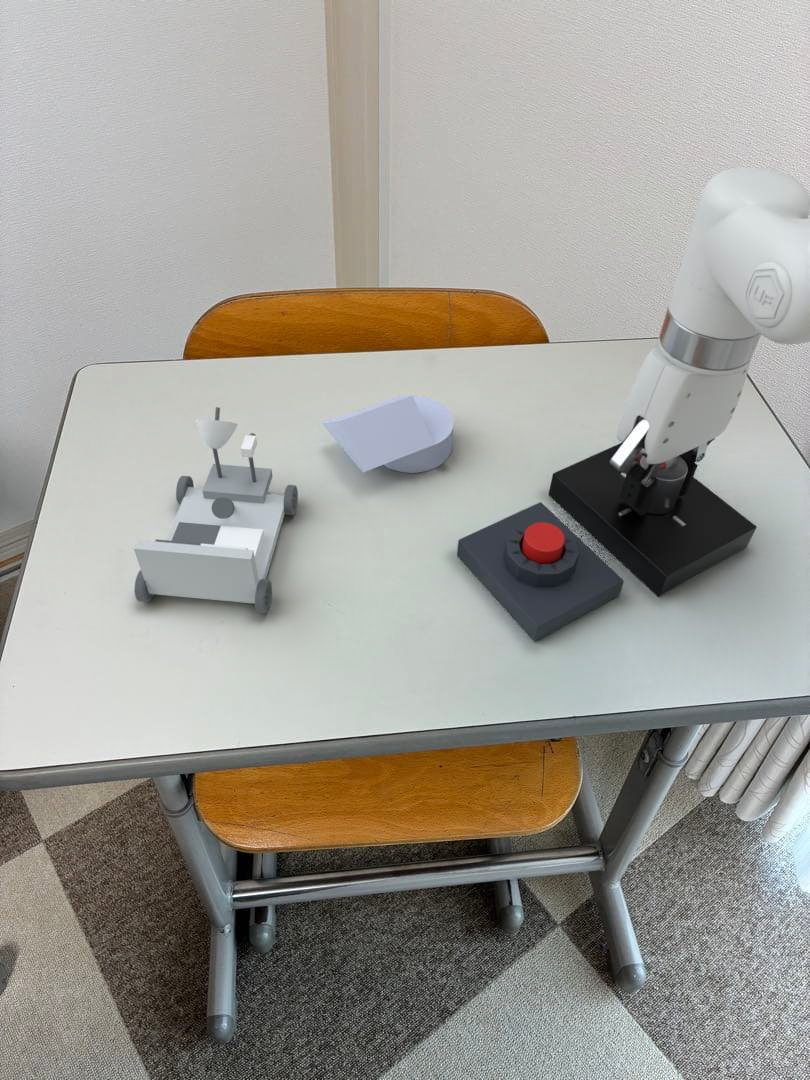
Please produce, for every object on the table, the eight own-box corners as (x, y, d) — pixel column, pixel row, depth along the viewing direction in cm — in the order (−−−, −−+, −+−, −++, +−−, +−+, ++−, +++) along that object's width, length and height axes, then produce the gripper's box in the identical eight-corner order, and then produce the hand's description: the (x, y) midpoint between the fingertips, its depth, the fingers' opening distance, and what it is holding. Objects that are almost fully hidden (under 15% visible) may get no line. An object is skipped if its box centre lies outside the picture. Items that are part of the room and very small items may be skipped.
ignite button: (569, 554, 72) (573, 541, 71) (538, 570, 71) (541, 557, 70) (544, 530, 74) (547, 516, 73) (514, 544, 73) (516, 531, 72)
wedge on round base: (363, 496, 82) (467, 455, 87) (362, 446, 77) (472, 405, 82) (323, 447, 87) (423, 410, 92) (319, 397, 82) (425, 361, 87)
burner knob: (652, 478, 80) (664, 441, 77) (684, 504, 78) (698, 467, 74) (620, 493, 79) (631, 456, 75) (651, 520, 76) (665, 484, 73)
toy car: (177, 398, 76) (296, 407, 76) (194, 474, 84) (303, 483, 83) (112, 533, 64) (253, 545, 64) (138, 608, 71) (266, 620, 71)
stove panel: (746, 547, 78) (757, 525, 76) (658, 597, 74) (667, 575, 71) (633, 455, 87) (640, 433, 85) (548, 494, 83) (552, 472, 80)
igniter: (619, 596, 74) (629, 567, 71) (534, 642, 70) (541, 614, 67) (537, 517, 80) (543, 488, 78) (456, 555, 77) (459, 526, 74)
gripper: (744, 286, 70) (686, 446, 83) (599, 341, 64) (561, 504, 77) (815, 327, 66) (741, 488, 79) (667, 390, 59) (614, 553, 73)
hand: (653, 495), depth 78 cm, fingers closed on burner knob, 4 cm apart
